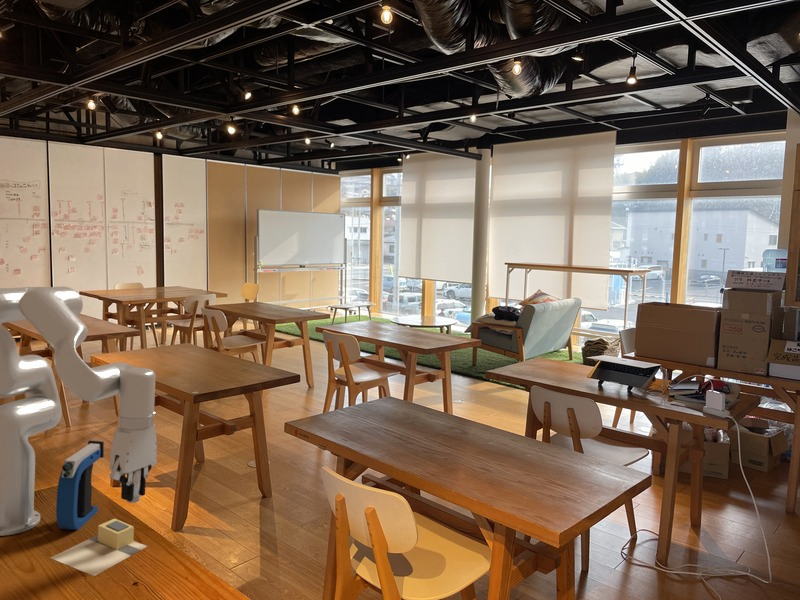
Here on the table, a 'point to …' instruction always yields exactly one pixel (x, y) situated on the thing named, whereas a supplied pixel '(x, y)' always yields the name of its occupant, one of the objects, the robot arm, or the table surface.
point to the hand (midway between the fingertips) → (133, 496)
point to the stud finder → (115, 534)
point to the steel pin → (136, 485)
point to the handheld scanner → (77, 487)
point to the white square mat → (96, 555)
